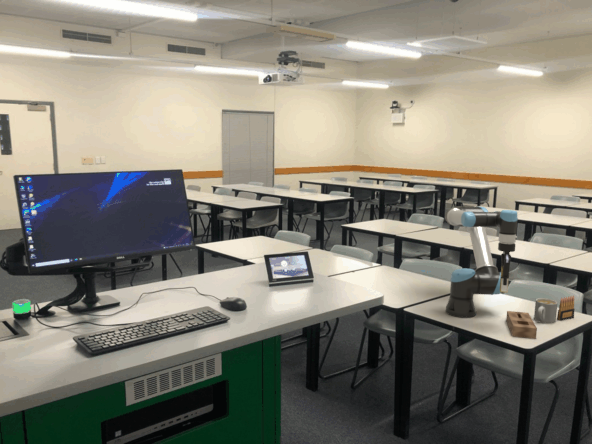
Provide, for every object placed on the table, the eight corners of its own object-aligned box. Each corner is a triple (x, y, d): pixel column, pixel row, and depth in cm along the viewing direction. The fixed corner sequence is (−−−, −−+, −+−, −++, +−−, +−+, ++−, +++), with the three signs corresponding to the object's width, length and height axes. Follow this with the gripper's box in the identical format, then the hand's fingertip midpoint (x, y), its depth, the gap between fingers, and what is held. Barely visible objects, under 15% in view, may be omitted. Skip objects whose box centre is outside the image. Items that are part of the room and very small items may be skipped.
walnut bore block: (512, 336, 234) (513, 326, 233) (506, 320, 255) (507, 310, 254) (536, 338, 231) (536, 328, 230) (527, 322, 252) (528, 312, 251)
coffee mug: (541, 315, 262) (543, 297, 261) (559, 321, 254) (561, 302, 252) (525, 319, 256) (527, 301, 254) (544, 326, 247) (545, 306, 246)
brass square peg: (500, 292, 240) (501, 267, 239) (499, 290, 244) (501, 266, 242) (507, 292, 240) (509, 268, 238) (506, 290, 243) (508, 266, 241)
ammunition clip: (570, 316, 261) (572, 294, 259) (573, 317, 259) (576, 295, 257) (556, 319, 256) (559, 297, 254) (560, 321, 255) (562, 298, 253)
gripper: (517, 246, 229) (514, 295, 233) (513, 240, 245) (510, 286, 248) (500, 245, 232) (496, 294, 235) (497, 239, 247) (493, 285, 250)
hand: (503, 290), depth 241 cm, fingers closed on brass square peg, 3 cm apart
